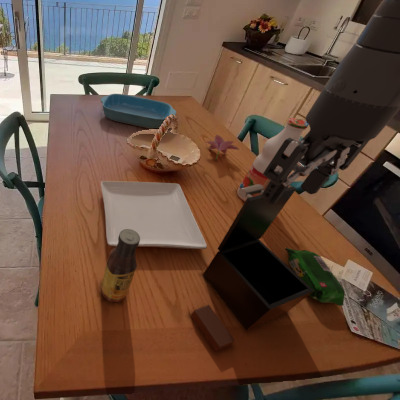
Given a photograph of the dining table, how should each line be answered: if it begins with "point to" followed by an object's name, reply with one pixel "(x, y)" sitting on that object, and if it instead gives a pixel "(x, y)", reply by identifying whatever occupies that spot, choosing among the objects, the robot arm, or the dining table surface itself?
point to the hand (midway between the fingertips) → (288, 195)
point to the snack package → (316, 276)
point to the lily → (221, 144)
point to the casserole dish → (136, 110)
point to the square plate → (150, 214)
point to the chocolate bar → (212, 328)
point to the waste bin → (255, 283)
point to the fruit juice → (271, 154)
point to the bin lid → (253, 217)
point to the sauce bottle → (120, 266)
